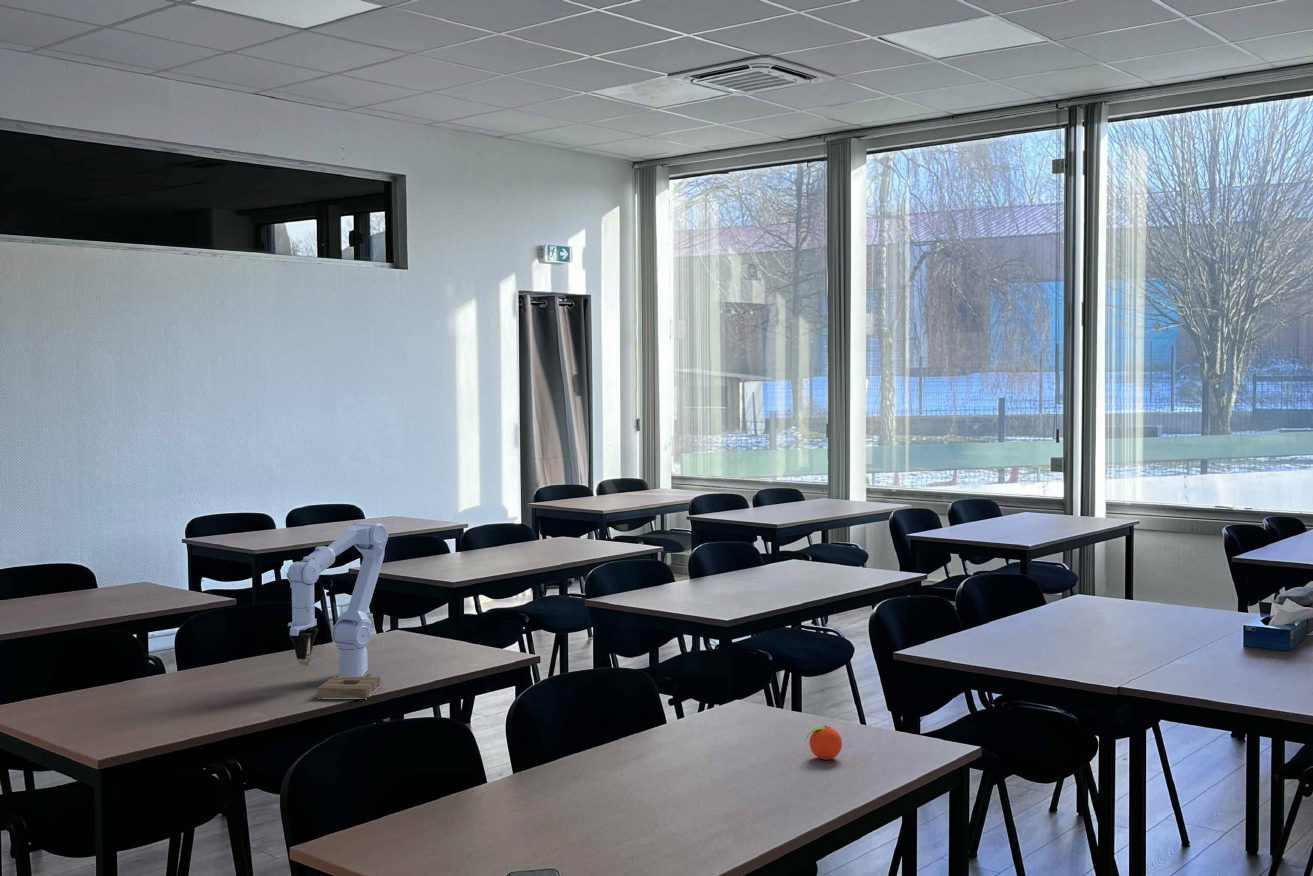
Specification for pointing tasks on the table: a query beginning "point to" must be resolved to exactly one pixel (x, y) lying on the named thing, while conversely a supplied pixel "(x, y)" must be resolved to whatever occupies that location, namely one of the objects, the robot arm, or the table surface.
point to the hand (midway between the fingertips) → (304, 657)
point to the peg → (306, 661)
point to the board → (348, 687)
